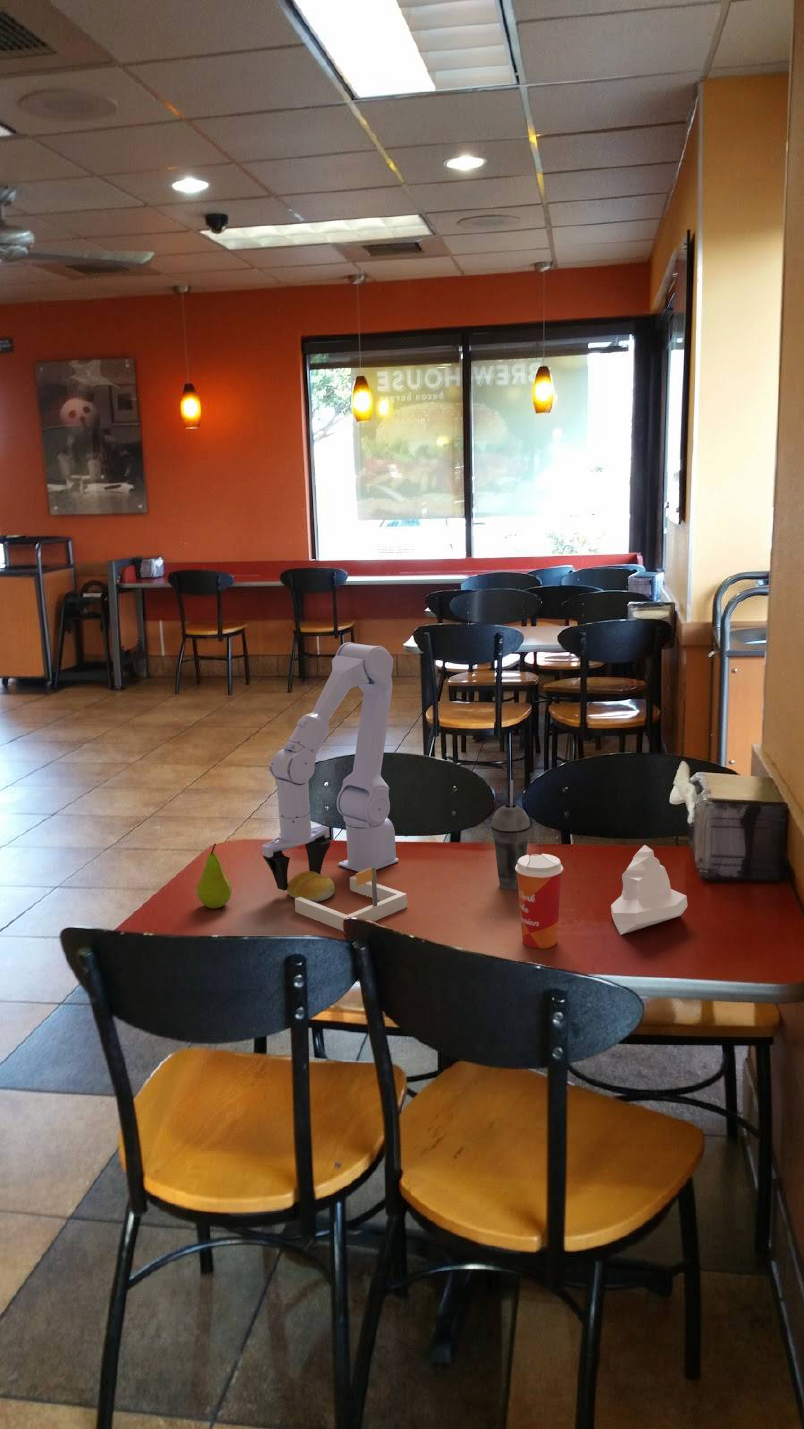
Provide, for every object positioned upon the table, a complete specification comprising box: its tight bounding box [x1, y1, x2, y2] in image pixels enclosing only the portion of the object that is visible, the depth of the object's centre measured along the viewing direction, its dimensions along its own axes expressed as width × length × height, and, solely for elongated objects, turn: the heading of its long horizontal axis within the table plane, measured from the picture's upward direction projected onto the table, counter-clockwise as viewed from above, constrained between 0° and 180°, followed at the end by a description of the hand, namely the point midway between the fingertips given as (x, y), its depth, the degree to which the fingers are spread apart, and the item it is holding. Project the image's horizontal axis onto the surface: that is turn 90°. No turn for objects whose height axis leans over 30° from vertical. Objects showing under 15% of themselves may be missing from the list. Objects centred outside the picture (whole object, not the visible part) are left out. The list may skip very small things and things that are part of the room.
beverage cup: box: [490, 779, 532, 891], centre depth 196 cm, size 7×7×20 cm
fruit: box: [196, 842, 232, 909], centre depth 193 cm, size 6×6×12 cm
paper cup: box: [515, 853, 564, 950], centre depth 173 cm, size 8×8×14 cm
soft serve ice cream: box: [610, 844, 688, 936], centre depth 179 cm, size 12×15×14 cm
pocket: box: [294, 866, 408, 932], centre depth 189 cm, size 14×14×10 cm
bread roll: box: [286, 870, 336, 903], centre depth 197 cm, size 8×9×4 cm
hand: (299, 882), depth 200 cm, fingers open, 7 cm apart
